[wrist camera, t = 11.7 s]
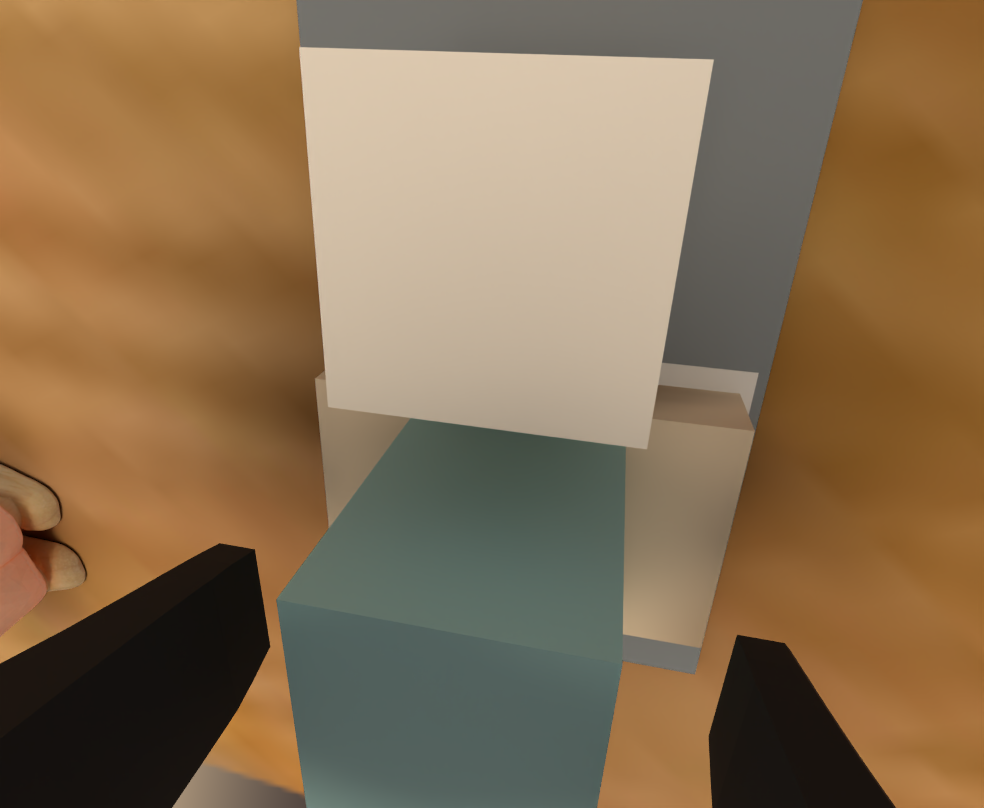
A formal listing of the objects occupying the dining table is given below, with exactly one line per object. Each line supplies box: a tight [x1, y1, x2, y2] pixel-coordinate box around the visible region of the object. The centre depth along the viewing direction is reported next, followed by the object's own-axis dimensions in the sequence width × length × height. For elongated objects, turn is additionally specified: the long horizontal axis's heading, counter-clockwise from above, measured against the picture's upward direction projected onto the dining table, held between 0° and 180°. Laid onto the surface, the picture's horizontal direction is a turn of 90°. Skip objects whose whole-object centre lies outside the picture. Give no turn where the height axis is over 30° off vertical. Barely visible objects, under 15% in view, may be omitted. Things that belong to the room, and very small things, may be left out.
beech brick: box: [315, 371, 755, 648], centre depth 13 cm, size 8×5×2 cm, turn 89°
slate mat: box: [297, 0, 863, 674], centre depth 13 cm, size 9×14×1 cm, turn 179°
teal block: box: [276, 418, 626, 808], centre depth 10 cm, size 4×4×5 cm
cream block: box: [299, 47, 714, 449], centre depth 9 cm, size 4×4×5 cm
